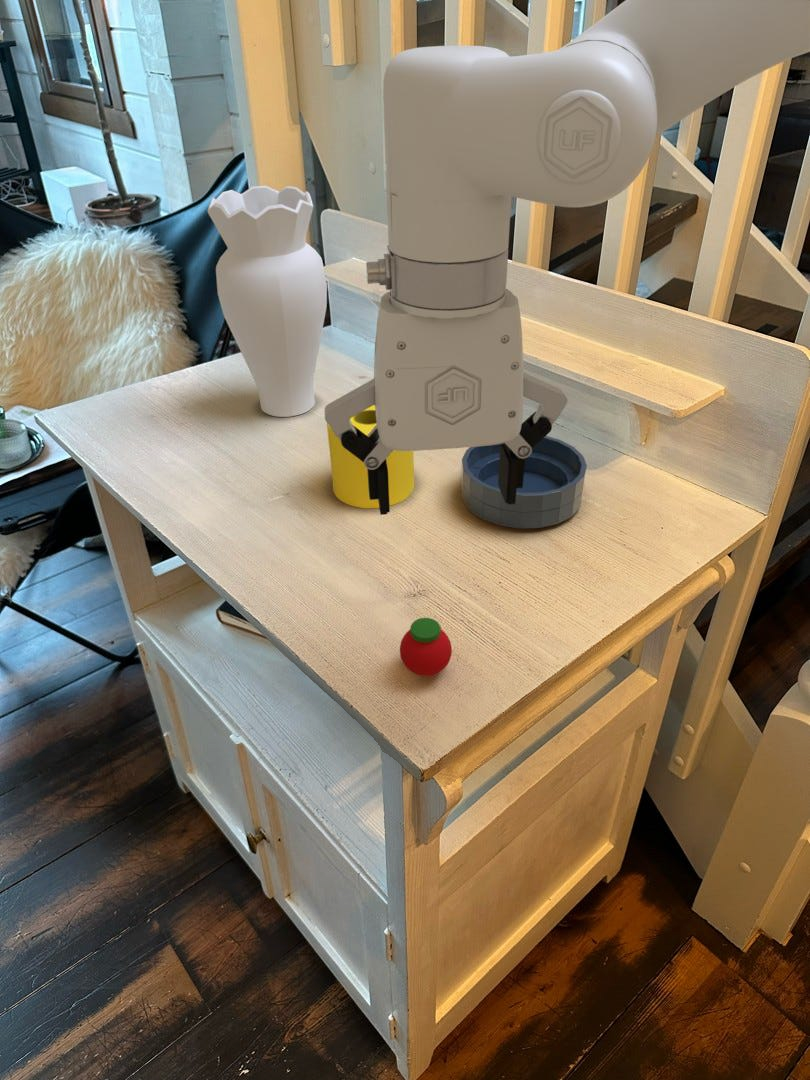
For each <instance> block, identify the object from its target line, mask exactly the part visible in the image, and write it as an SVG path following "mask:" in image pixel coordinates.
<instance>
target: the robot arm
mask: <svg viewBox="0 0 810 1080" xmlns="http://www.w3.org/2000/svg"><path fill="white" fill-rule="evenodd" d="M807 53H810V0H624V1H622V2H621V3H619V5H617V6H616V7H615V8H614V9H612V10H611V11H609V12H608V13H607V14H605V15H604V16H603V17H602V18H600V19H598V20H597V21H596V22H594V24H592V25H591V26H590V27H588V28H587V29H585V30H584V31H583V32H581V33H580V34H579V35H577V36H576V37H575V38H573V39H572V40H570V41H569V42H568V43H567V44H564V45H563V46H562V47H560V48H559V49H557V50H551V51H545V52H540V53H539V52H538V53H533V54H532V53H531V54H522V55H515V56H514V55H513V56H512V55H511V56H510V55H509V54H508V53H507V52H506V51H504V50H501V49H499V48H496V47H490V46H483V45H435V46H420V47H414V48H410V49H405V50H403V51H400V52H399V53H396V54H395V55H394V56H393V57H392V58H391V59H390V60H389V62H388V64H387V66H386V67H385V71H384V75H383V85H382V87H383V89H382V90H383V91H382V92H383V93H382V94H383V95H382V97H383V98H382V99H383V101H382V102H383V127H384V128H383V129H384V131H383V132H384V157H385V158H384V159H385V183H386V184H385V187H386V188H385V189H386V190H385V191H386V213H387V236H388V237H387V239H388V240H387V241H388V245H386V249H387V250H386V251H387V253H383V258H377V261H366V262H365V269H366V270H365V271H366V282H367V284H368V285H369V284H371V285H372V284H378V286H384V287H385V290H386V291H387V292H385V293H384V294H382V296H381V297H380V302H379V307H378V314H377V320H376V331H375V341H374V361H373V363H374V364H373V378H372V379H370V380H368V381H366V382H365V383H363V384H361V385H360V386H358V387H356V388H354V389H353V390H351V391H349V392H347V393H345V394H343V395H342V396H340V397H338V398H336V399H334V400H333V401H331V402H329V403H327V404H326V405H325V407H324V420H325V422H326V424H327V423H328V425H329V426H330V427H331V429H332V430H333V432H334V433H335V435H336V436H337V437H338V438H339V440H340V441H341V444H342V446H343V447H344V448H345V449H347V450H348V451H349V452H351V453H352V454H353V455H355V456H356V457H357V458H359V459H360V460H361V461H362V462H364V465H365V467H366V468H367V471H368V487H369V497H370V500H375V499H378V501H379V508H378V509H379V515H380V516H383V515H385V516H386V515H388V513H390V512H391V511H390V509H391V508H390V507H391V506H389V482H388V468H387V462H386V458H387V457H388V456H389V455H390V453H391V452H392V451H393V450H396V451H413V452H421V451H434V450H435V451H436V450H437V451H438V450H449V449H450V450H451V449H462V448H465V449H466V448H470V447H478V446H489V445H497V444H500V458H499V475H498V486H499V488H500V491H501V494H502V496H503V499H504V501H505V503H507V504H508V505H512V504H515V502H516V489H517V488H522V487H523V479H524V467H525V458H527V457H529V456H530V455H531V453H532V448H533V447H534V446H535V445H536V444H537V443H538V442H540V441H541V440H542V439H543V438H544V437H545V436H548V435H549V434H550V432H551V431H552V429H553V424H554V423H555V422H556V421H557V419H558V418H559V417H560V415H561V413H562V412H563V410H564V409H565V407H566V406H567V404H568V398H567V396H566V394H565V393H564V392H563V390H562V389H561V388H559V387H557V386H556V385H555V386H554V385H553V384H550V383H548V382H545V381H544V380H541V379H539V378H536V377H534V376H532V375H530V374H528V373H525V372H524V347H523V329H522V319H521V317H522V316H521V309H520V302H519V299H518V297H517V296H516V295H515V294H514V293H513V292H512V291H511V290H509V289H508V288H507V278H508V263H509V261H508V260H509V243H510V224H511V208H512V198H515V199H516V198H517V199H521V200H525V201H530V202H535V203H539V204H543V205H549V206H554V207H563V208H586V207H592V206H596V205H600V204H602V203H604V202H607V201H610V200H611V199H613V198H615V197H616V196H618V195H620V194H621V193H622V192H623V191H625V190H626V189H627V188H629V186H630V185H631V184H632V183H633V182H634V181H635V180H636V179H637V177H638V176H639V175H640V174H641V172H642V171H643V169H644V167H645V166H646V164H647V162H648V160H649V158H650V156H651V153H652V151H653V147H654V144H655V141H656V137H658V136H660V135H661V134H662V133H664V132H665V131H667V130H669V129H670V128H672V127H673V126H675V125H676V124H678V123H680V122H681V121H682V120H684V119H686V118H687V117H688V116H690V115H692V114H693V113H695V112H696V111H698V110H699V109H701V108H702V107H704V106H705V105H707V104H709V103H710V102H712V101H714V100H715V99H717V98H719V97H720V96H722V95H724V94H725V93H727V92H728V91H731V90H732V89H733V88H735V87H737V86H739V85H741V84H743V83H744V82H746V81H747V80H749V79H752V78H753V77H756V76H757V75H759V74H761V73H763V72H764V71H765V72H766V71H767V70H769V69H771V68H773V67H776V66H777V65H779V64H782V63H783V62H787V61H788V60H791V59H793V58H796V57H799V56H803V55H805V54H807ZM524 398H526V399H529V400H531V401H533V402H536V403H538V404H539V405H538V407H537V410H536V411H534V412H533V413H532V414H531V415H530V416H529V417H528V418H526V419H525V420H524V421H523V415H524ZM373 405H375V411H376V422H377V424H376V426H375V427H374V428H373V429H372V430H371V432H370V433H369V434H368V435H365V434H364V433H363V432H361V431H360V430H359V429H358V428H356V427H355V426H354V425H352V423H351V421H350V418H351V417H353V416H355V415H357V414H358V413H360V412H362V411H364V410H366V409H367V408H369V407H371V406H373ZM502 443H503V444H502Z"/></svg>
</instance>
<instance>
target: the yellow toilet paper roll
mask: <svg viewBox="0 0 810 1080" xmlns="http://www.w3.org/2000/svg"><path fill="white" fill-rule="evenodd" d="M350 421H351V423H352V425H354V426H355V427H356V428H358V429H359V430H360V431H361V432H363V433H364V434H365V435H368V434H369V433H370V432H371V430H372V429H373V428H374V427H375V426H376V424H377V422H376V411H375V405H373V406H371V407H369V408H367V409H366V410H364V411H362V412H360V413H358V414H357V415H355V416H353V417H351V418H350ZM326 426H327V427H326V428H327V438H328V447H329V449H328V450H329V458H330V459H329V460H330V468H331V477H332V487H333V488H332V489H333V493H334V495H335V496H336V498H337V499H338V500H339V501H341V502H342V503H344V504H346V505H349V506H351V507H354V508H360V509H380V508H379V501H378V499H375V500H370V497H369V487H368V471H367V468H366V467H365V465H364V462H362V461H361V460H360V459H359V458H357V457H356V456H355V455H353V454H352V453H351V452H349V451H348V450H347V449H345V448H344V447H343V446H342V444H341V441H340V440H339V438H338V437H337V436H336V435H335V433H334V432H333V430H332V429H331V427H330V426H329V425H328V423H327V422H326ZM414 459H415V458H414V451H396V450H393V451H392V452H391V453H390V455H389V456H388V457H387V458H386V462H387V468H388V482H389V507H391V506H394V505H397V504H400V503H401V502H403V501H404V500H406V499H407V498H408V497H410V495H412V493H413V491H414V490H415V463H414V462H415V461H414Z"/></svg>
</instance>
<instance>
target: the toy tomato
mask: <svg viewBox="0 0 810 1080" xmlns="http://www.w3.org/2000/svg"><path fill="white" fill-rule="evenodd" d="M452 654H453V649H452V642H451V639H450V638H449V636H448V634H447V633H446V632H445V631H444V630H443V629H442V628H441V625H440V623H439V622H438V621H437V620H436V619H434V618H431V617H420V618H418V619H416V620H414V621H413V622H412V623H411V625H410V629H408V631H406V633H405V634H404V635H403V637H402V639H401V641H400V645H399V656H400V659H401V662H402V664H403V665H404V667H405V668H406V669H407V670H408V671H410V672H411V673H412V674H414V675H416V676H420V677H432V676H435V675H437V674H440V673H441V672H442V671H444V670H445V669H446V667H448V665H449V663H450V660H451V657H452Z"/></svg>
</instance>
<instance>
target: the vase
mask: <svg viewBox="0 0 810 1080" xmlns="http://www.w3.org/2000/svg"><path fill="white" fill-rule="evenodd" d="M313 210H314V203H313V200H312V196H311V194H310V192H308V190H307V191H305V192H304V191H302V190H301V189H300V188H299V187H298V186H291V185H285V187H284V188H282V189H280V190H276V189H274V188H272V187H269V186H268V185H256V186H252V187H250V188H248V189H246V190H245V191H244V192H242V193H240V192H237V191H235V190H233V189H229V190H226V191H222V192H221V193H220V194H219V195H218V196H217V197H216V198H215V197H212V198H211V200H210V202H209V205H208V207H207V211H206V212H207V214H208V216H209V217H210V219H211V221H212V223H213V224H214V226H215V228H216V229H217V231H218V233H219V235H220V237H221V238H222V240H223V242H224V244H225V246H226V247H227V249H226V250H225V251H224V252H223V254H222V255H221V256H220V257H219V259H218V261H217V264H216V266H215V276H216V289H217V290H216V291H217V296H218V300H219V304H220V307H221V311H222V314H223V317H224V319H225V321H226V324H227V326H228V328H229V330H230V332H231V334H232V336H233V338H234V340H235V343H236V344H237V347H238V349H239V351H240V353H241V354H242V358H243V359H244V361H245V364H246V365H247V368H248V370H249V372H250V375H251V376H252V379H253V380H254V382H255V385H256V388H257V391H258V396H259V398H258V399H259V404H260V409H261V410H262V412H264V413H265V414H267V415H268V416H272V417H276V418H277V417H278V418H289V417H295V416H296V417H297V416H300V415H302V414H305V413H308V412H309V411H310V410H311V409H313V407H314V406H315V404H316V399H315V390H314V380H315V379H314V378H315V372H316V367H317V361H318V356H319V350H320V346H321V340H322V334H323V329H324V324H325V317H326V313H327V306H328V305H327V304H328V284H327V278H326V273H325V266H324V263H323V258H322V257H321V255H320V254H319V253H318V252H317V250H316V249H315V248H314V247H312V246H311V245H310V244H309V243H307V233H308V229H309V225H310V221H311V218H312V214H313Z"/></svg>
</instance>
